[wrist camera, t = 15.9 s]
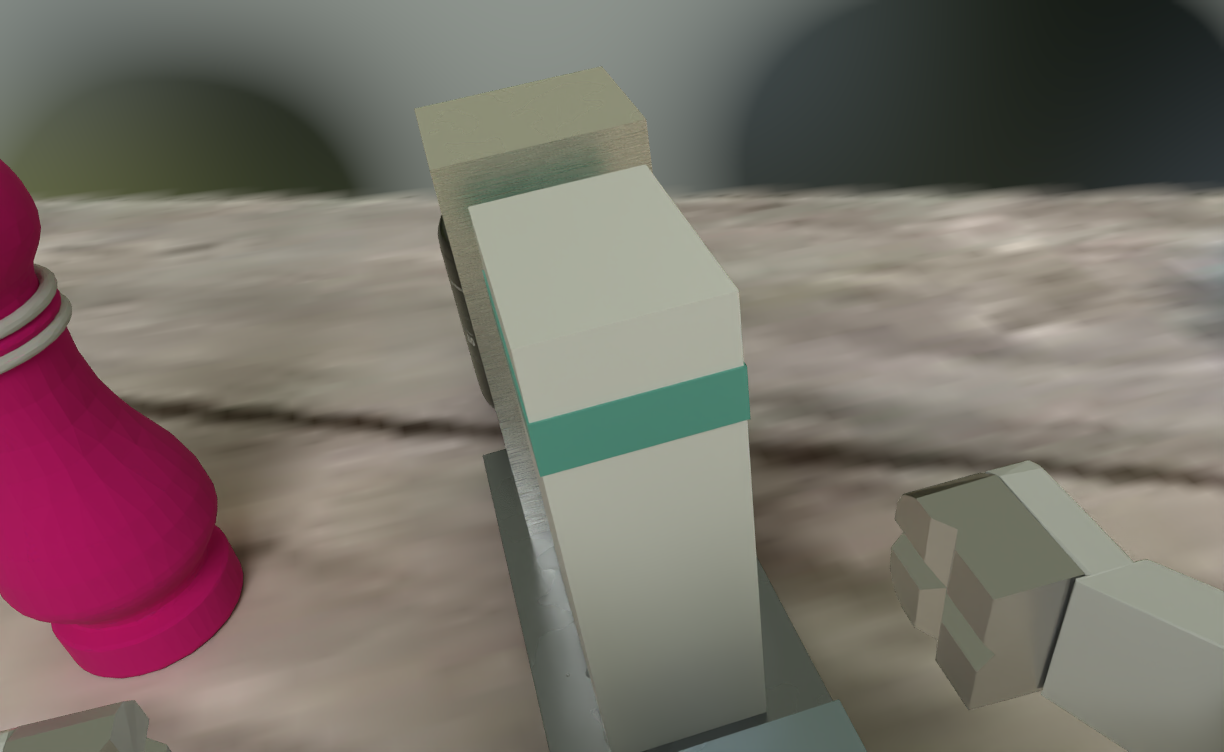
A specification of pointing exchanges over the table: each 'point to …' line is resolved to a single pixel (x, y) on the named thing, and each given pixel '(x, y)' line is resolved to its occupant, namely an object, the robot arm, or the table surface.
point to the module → (635, 444)
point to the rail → (569, 657)
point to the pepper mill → (95, 489)
